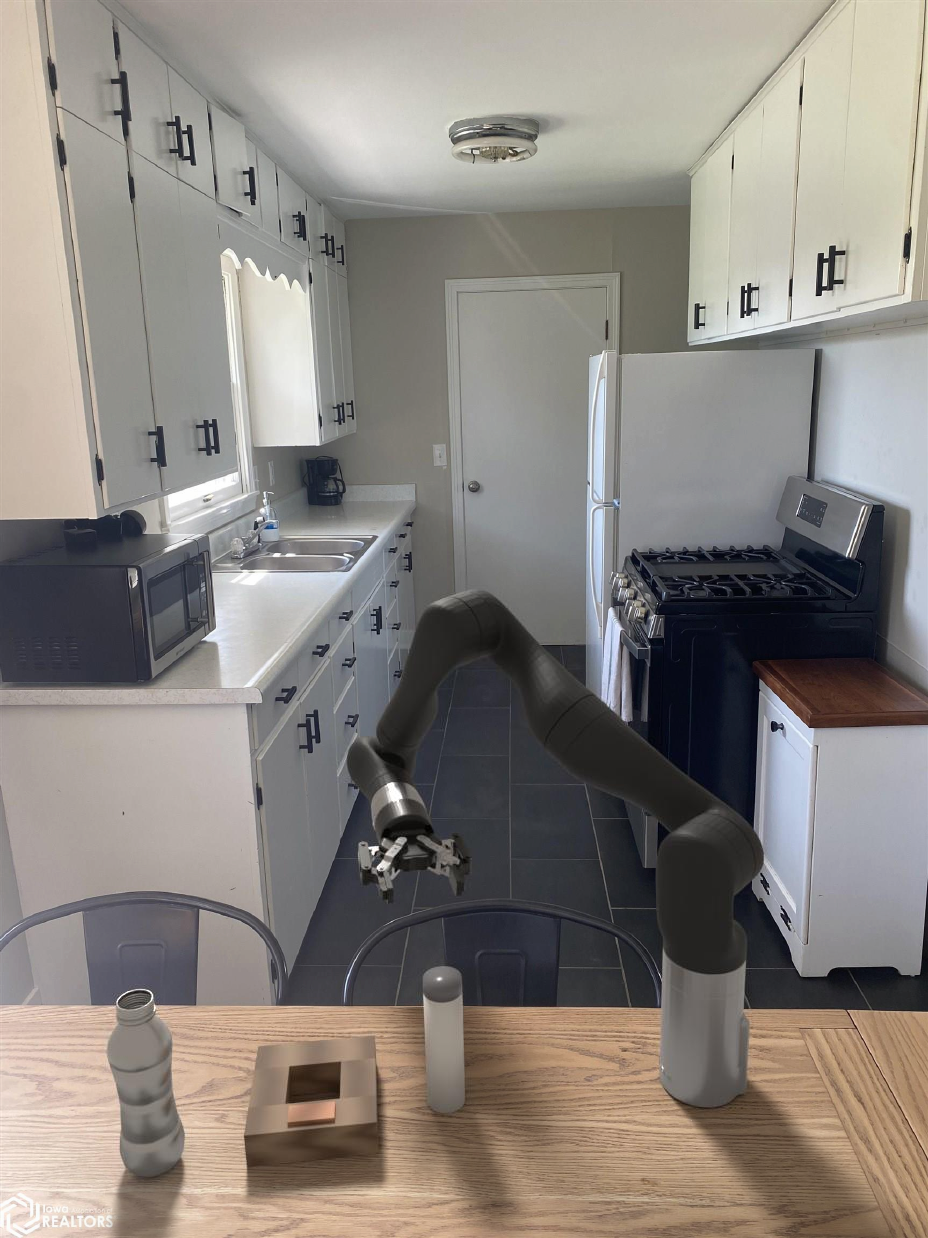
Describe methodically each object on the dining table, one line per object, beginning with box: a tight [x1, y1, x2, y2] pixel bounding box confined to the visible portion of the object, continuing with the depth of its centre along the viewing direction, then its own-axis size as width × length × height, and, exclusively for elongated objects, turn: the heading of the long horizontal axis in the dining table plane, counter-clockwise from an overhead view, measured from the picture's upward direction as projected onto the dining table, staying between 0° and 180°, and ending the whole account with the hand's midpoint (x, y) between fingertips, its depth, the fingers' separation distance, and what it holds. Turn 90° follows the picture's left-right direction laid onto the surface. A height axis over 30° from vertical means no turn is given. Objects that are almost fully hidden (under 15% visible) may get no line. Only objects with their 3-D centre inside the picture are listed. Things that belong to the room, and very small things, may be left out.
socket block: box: [243, 1035, 379, 1168], centre depth 106 cm, size 14×14×4 cm
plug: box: [422, 965, 466, 1114], centre depth 106 cm, size 4×4×16 cm
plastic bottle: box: [105, 988, 186, 1178], centre depth 98 cm, size 6×7×20 cm
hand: (425, 894), depth 113 cm, fingers open, 8 cm apart
